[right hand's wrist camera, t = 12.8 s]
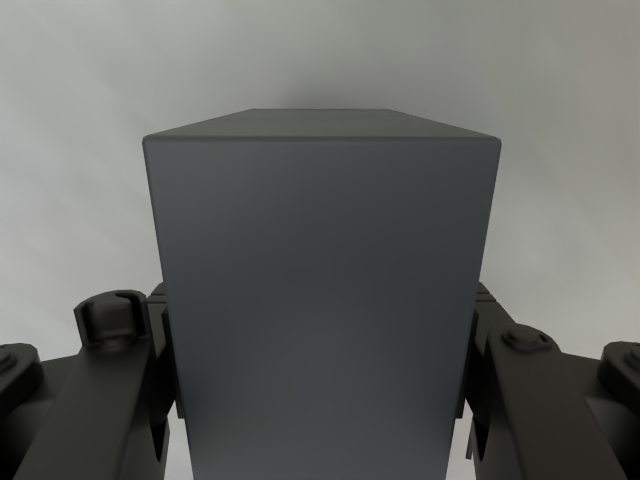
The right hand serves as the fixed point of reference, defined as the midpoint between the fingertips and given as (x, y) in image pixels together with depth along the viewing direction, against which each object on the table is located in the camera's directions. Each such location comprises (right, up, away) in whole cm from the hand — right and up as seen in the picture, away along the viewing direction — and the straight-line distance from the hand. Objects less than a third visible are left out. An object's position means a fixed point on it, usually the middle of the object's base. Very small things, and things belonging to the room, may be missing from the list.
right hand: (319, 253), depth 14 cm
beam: (0, -19, +8) cm, 21 cm away
